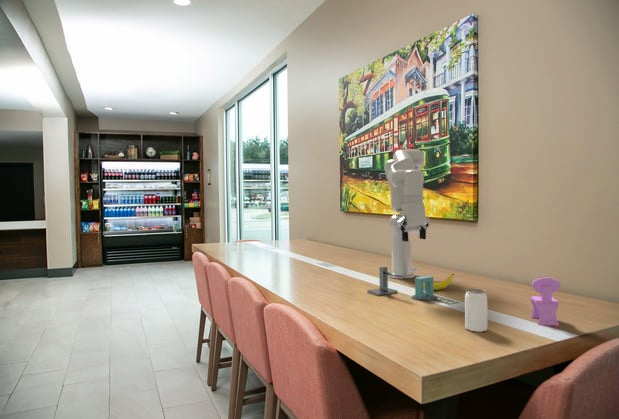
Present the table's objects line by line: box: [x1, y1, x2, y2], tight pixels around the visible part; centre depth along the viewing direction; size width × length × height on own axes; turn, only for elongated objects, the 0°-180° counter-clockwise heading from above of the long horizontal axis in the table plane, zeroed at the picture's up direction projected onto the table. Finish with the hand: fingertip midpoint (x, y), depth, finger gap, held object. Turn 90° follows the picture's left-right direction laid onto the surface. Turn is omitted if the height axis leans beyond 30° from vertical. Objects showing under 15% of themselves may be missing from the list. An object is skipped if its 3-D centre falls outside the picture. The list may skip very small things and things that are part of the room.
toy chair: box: [530, 276, 561, 327], centre depth 144 cm, size 8×9×15 cm
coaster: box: [411, 294, 438, 302], centre depth 179 cm, size 10×10×1 cm
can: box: [464, 288, 488, 333], centre depth 138 cm, size 6×6×12 cm
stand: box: [366, 265, 405, 297], centre depth 186 cm, size 10×18×11 cm, turn 28°
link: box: [414, 275, 435, 299], centre depth 179 cm, size 7×3×8 cm, turn 119°
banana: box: [423, 273, 455, 291], centre depth 193 cm, size 3×19×6 cm, turn 111°
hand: (414, 240), depth 187 cm, fingers open, 9 cm apart
